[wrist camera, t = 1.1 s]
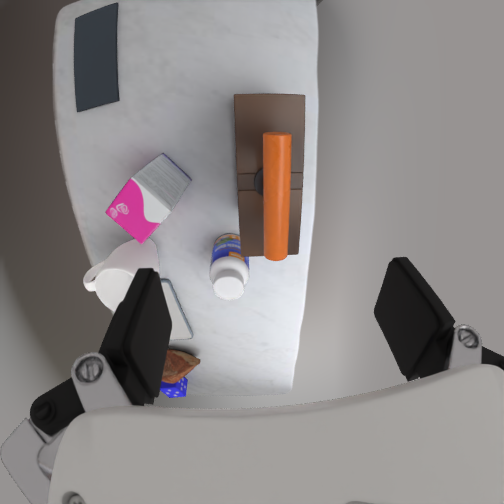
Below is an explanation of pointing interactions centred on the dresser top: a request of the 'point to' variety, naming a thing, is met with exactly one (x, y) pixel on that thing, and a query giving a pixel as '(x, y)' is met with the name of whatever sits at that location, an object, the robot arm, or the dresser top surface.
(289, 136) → the T-handle
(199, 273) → the dresser top surface
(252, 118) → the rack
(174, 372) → the reddish-brown rock
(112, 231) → the dresser top surface
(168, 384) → the die
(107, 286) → the mug
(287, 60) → the dresser top surface
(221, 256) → the pill bottle
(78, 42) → the mat
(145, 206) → the supplement box
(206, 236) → the dresser top surface
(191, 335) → the smartphone
